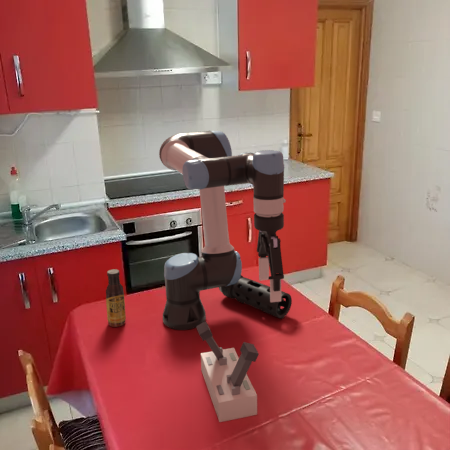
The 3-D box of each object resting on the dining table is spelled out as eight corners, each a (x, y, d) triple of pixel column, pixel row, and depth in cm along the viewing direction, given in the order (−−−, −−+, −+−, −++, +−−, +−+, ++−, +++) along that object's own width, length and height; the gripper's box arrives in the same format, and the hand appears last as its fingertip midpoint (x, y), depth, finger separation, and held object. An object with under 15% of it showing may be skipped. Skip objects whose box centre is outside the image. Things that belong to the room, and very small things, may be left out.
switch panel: (234, 364, 143) (233, 341, 140) (257, 414, 122) (257, 388, 120) (201, 370, 140) (200, 347, 138) (219, 422, 120) (218, 396, 118)
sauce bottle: (110, 329, 163) (104, 277, 157) (106, 321, 168) (99, 270, 162) (129, 324, 166) (123, 272, 159) (124, 316, 171) (118, 266, 165)
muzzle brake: (275, 325, 163) (275, 298, 160) (217, 300, 182) (216, 275, 178) (292, 314, 170) (292, 288, 166) (234, 291, 188) (233, 267, 185)
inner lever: (222, 348, 137) (205, 321, 133) (226, 356, 133) (208, 329, 129) (213, 353, 137) (196, 326, 132) (216, 362, 133) (199, 334, 128)
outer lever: (237, 378, 126) (253, 344, 123) (242, 389, 122) (258, 353, 119) (227, 376, 125) (243, 341, 122) (231, 387, 121) (248, 351, 118)
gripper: (297, 226, 109) (296, 310, 115) (271, 199, 132) (272, 270, 138) (264, 228, 108) (266, 313, 114) (245, 201, 131) (247, 272, 138)
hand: (269, 290), depth 126 cm, fingers open, 13 cm apart
